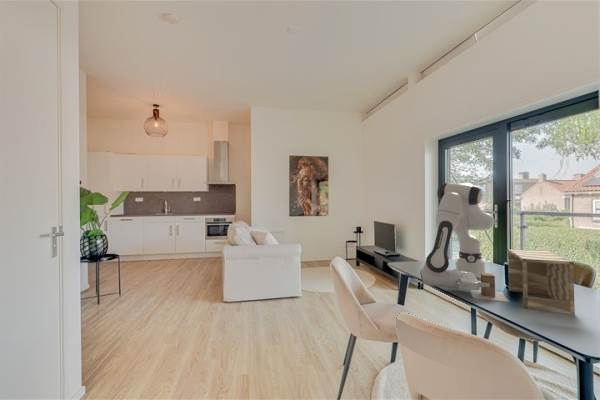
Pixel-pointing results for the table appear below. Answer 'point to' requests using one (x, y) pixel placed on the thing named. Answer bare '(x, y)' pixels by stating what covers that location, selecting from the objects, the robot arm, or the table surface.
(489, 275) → the block
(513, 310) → the table surface
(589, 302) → the table surface
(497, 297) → the mat
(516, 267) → the cubby
